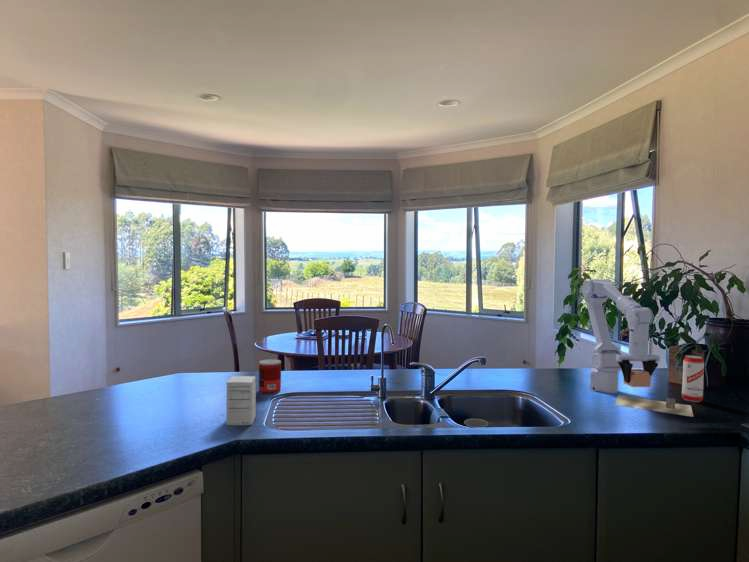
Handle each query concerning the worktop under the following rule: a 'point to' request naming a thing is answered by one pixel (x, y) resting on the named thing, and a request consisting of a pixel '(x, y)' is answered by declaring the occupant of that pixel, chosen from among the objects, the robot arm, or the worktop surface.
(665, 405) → the board
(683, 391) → the beer can
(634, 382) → the tan boxy piece
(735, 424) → the worktop surface
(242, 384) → the supplement box
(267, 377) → the canned food
